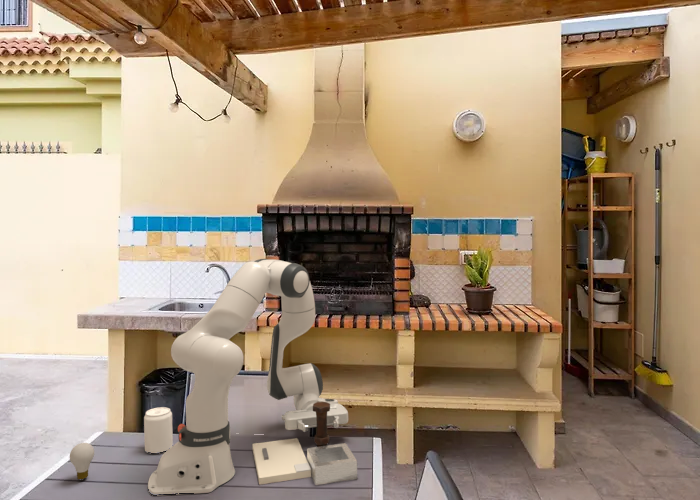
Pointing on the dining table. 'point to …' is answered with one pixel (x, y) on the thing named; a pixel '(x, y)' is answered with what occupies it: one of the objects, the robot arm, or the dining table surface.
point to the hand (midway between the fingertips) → (321, 427)
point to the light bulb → (82, 459)
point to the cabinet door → (280, 461)
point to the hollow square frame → (332, 464)
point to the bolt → (321, 423)
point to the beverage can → (158, 430)
